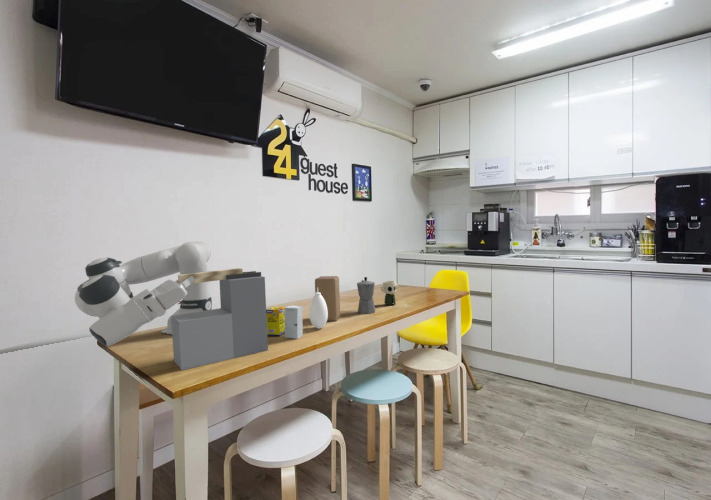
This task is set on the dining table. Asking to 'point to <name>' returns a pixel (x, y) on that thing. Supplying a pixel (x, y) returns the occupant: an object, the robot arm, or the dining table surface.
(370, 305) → the coffeepot
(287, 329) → the skincare box
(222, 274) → the maple bar
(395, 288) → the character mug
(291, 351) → the dining table surface
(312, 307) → the sauce bottle
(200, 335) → the stepped stand
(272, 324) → the supplement box
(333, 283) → the wooden block
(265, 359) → the dining table surface
